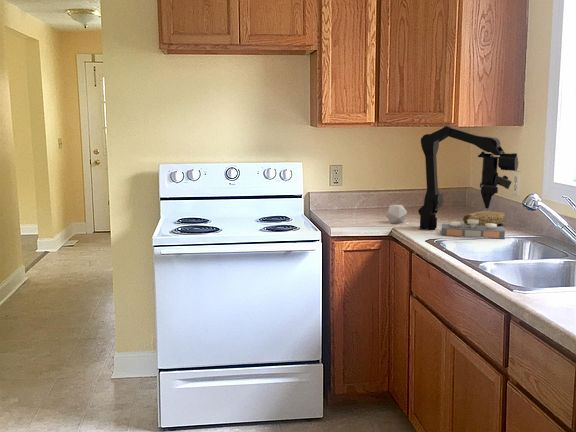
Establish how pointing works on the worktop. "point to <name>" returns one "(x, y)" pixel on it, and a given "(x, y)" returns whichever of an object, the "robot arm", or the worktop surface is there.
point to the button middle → (472, 222)
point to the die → (396, 214)
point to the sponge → (485, 217)
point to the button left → (454, 224)
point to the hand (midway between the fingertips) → (486, 208)
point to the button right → (490, 225)
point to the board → (473, 231)
